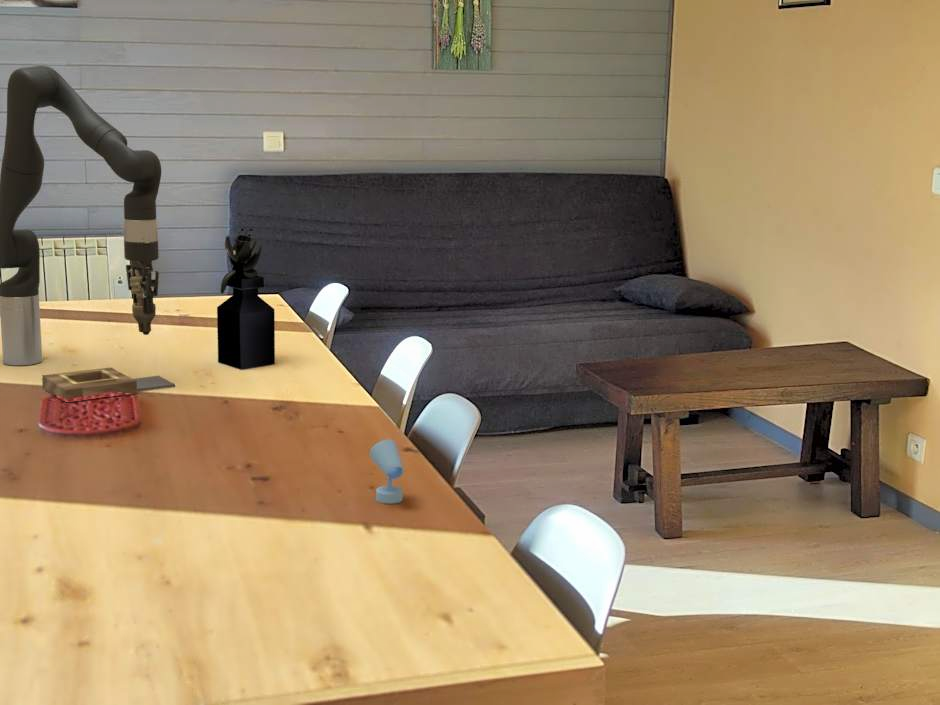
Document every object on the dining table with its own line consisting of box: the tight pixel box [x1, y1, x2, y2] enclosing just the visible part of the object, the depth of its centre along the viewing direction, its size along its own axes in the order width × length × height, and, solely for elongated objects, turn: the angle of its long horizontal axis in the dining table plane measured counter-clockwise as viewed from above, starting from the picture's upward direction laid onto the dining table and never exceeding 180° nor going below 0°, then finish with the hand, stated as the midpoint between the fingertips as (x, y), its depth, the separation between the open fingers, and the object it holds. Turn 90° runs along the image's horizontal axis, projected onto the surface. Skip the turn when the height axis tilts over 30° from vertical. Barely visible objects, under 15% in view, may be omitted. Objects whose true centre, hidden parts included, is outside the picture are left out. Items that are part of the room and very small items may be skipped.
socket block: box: [41, 367, 138, 399], centre depth 249 cm, size 16×16×3 cm
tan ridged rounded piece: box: [130, 276, 157, 336], centre depth 252 cm, size 6×6×15 cm
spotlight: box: [369, 439, 405, 505], centre depth 184 cm, size 5×10×7 cm
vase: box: [216, 228, 276, 371], centre depth 278 cm, size 14×12×35 cm
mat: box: [133, 375, 176, 393], centre depth 256 cm, size 10×10×1 cm
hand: (143, 311), depth 253 cm, fingers closed on tan ridged rounded piece, 5 cm apart
